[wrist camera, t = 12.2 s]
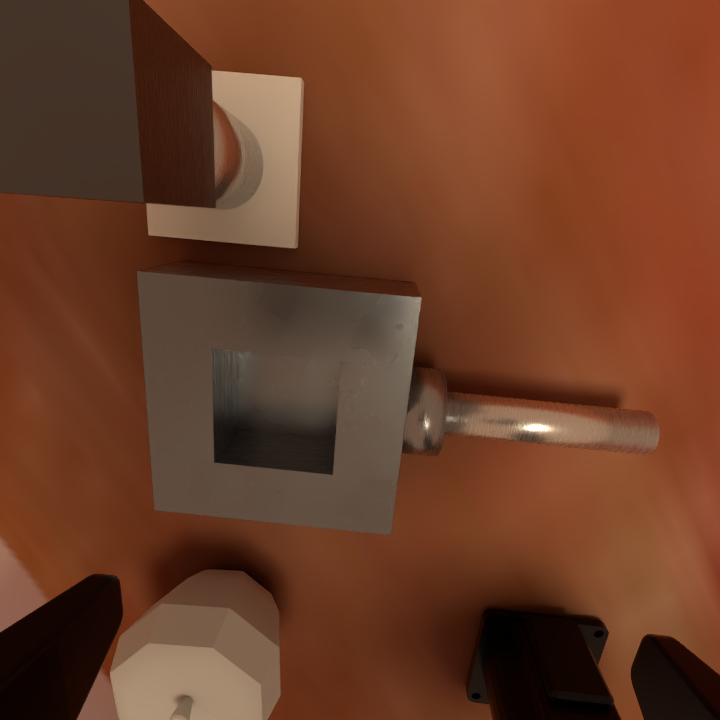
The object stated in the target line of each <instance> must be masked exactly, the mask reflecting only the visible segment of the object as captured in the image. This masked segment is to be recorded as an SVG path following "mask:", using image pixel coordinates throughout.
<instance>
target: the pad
mask: <svg viewBox="0 0 720 720" xmlns="http://www.w3.org/2000/svg"><path fill="white" fill-rule="evenodd" d="M212 95H213V101H215V102H216V103H217V104H219V105H220V106H221V107H223V108H224V109H225V110H227V111H228V112H229V113H231V114H232V115H233V116H235V117H236V118H237V119H239V120H240V121H241V122H242V123H244V124H245V125H246V126H247V127H248V128H249V129H250V130H251V132H252V133H253V134H254V136H255V137H256V139H257V141H258V143H259V145H260V148H261V151H262V156H263V175H262V179H261V182H260V185H259V187H258V189H257V191H256V192H255V194H254V195H253V196H252V197H251V198H250V199H249V200H248V201H247V202H245V203H244V204H242V205H240V206H238V207H235V208H232V209H209V208H197V207H184V206H172V205H159V204H146V206H147V221H148V235H152V236H163V237H174V238H185V239H195V240H206V241H217V242H228V243H239V244H250V245H261V246H272V247H283V248H294V249H295V248H298V230H299V204H300V178H301V152H302V127H303V101H304V81H303V80H302V78H297V77H285V76H273V75H261V74H249V73H237V72H225V71H213V70H212Z"/></svg>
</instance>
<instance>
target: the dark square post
mask: <svg viewBox="0 0 720 720" xmlns="http://www.w3.org/2000/svg"><path fill="white" fill-rule="evenodd" d="M262 175H263V156H262V151H261V148H260V145H259V143H258V141H257V139H256V137H255V136H254V134H253V133H252V132H251V130H250V129H249V128H248V127H247V126H246V125H245V124H244V123H242V122H241V121H240V120H239V119H237V118H236V117H235V116H233V115H232V114H231V113H229V112H228V111H227V110H225V109H224V108H223V107H221V106H220V105H219V104H217V103H216V102H215V101H213V95H212V66H211V65H210V64H209V63H208V62H207V61H206V60H205V59H204V58H203V57H201V56H200V55H199V54H198V53H197V52H196V51H195V50H194V49H193V48H192V47H191V46H190V45H189V44H188V43H187V42H186V41H185V40H184V39H183V38H182V37H181V36H180V35H178V34H177V33H176V32H175V31H174V30H173V29H172V28H171V27H170V26H169V25H168V24H167V23H166V22H165V21H164V20H163V19H162V18H161V17H160V16H159V15H158V14H157V13H156V12H154V11H153V10H152V9H151V8H150V7H149V6H148V5H147V4H146V3H145V2H144V1H143V0H0V193H10V194H23V195H36V196H49V197H62V198H75V199H88V200H102V201H116V202H131V203H145V204H159V205H172V206H184V207H197V208H209V209H232V208H235V207H238V206H240V205H242V204H244V203H245V202H247V201H248V200H249V199H250V198H251V197H252V196H253V195H254V194H255V192H256V191H257V189H258V187H259V185H260V182H261V179H262Z"/></svg>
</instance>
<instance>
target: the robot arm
mask: <svg viewBox="0 0 720 720" xmlns="http://www.w3.org/2000/svg"><path fill="white" fill-rule="evenodd" d="M122 617H123V605H122V596H121V587H120V580H119V579H118V577H117V576H114V575H105V574H93V575H90V576H88V577H87V578H85V579H84V580H82V581H80V582H79V583H77V584H76V585H74V586H73V587H71V588H69V589H68V590H66V591H65V592H63V593H61V594H60V595H58V596H57V597H55V598H54V599H52V600H50V601H49V602H47V603H46V604H44V605H43V606H41V607H39V608H38V609H36V610H35V611H33V612H32V613H30V614H28V615H27V616H25V617H24V618H22V619H21V620H19V621H17V622H16V623H14V624H13V625H11V626H9V627H8V628H6V629H5V630H3V631H2V632H0V720H77V718H78V716H79V714H80V712H81V709H82V708H83V705H84V703H85V701H86V699H87V697H88V694H89V692H90V690H91V688H92V686H93V684H94V682H95V679H96V677H97V675H98V673H99V671H100V669H101V666H102V664H103V662H104V660H105V658H106V656H107V653H108V651H109V649H110V647H111V645H112V643H113V640H114V638H115V636H116V634H117V632H118V630H119V627H120V625H121V622H122ZM491 619H494V620H491ZM608 633H609V632H608V630H607V628H606V626H605V625H604V623H603V622H602V621H599V620H591V619H582V618H573V617H564V616H554V615H545V614H536V613H527V612H518V611H508V610H499V609H489V610H486V611H485V612H484V613H483V615H482V620H481V624H480V628H479V633H478V637H477V642H476V646H475V651H474V655H473V660H472V664H471V668H470V673H469V677H468V682H467V686H466V692H467V698H468V699H469V700H470V701H472V702H476V703H485V704H489V705H490V709H491V714H492V719H493V720H621V718H620V715H619V713H618V711H617V709H616V707H615V705H614V700H613V697H612V695H611V692H610V690H609V688H608V686H607V684H606V682H605V680H604V678H603V676H602V673H601V671H600V669H599V667H598V663H599V660H600V658H601V655H602V652H603V649H604V646H605V643H606V640H607V637H608ZM631 680H632V685H633V688H634V691H635V694H636V697H637V700H638V703H639V706H640V709H641V712H642V715H643V718H644V720H720V675H719V674H718V673H716V672H715V671H714V670H713V669H712V668H710V667H709V666H708V665H707V664H705V663H704V662H703V661H702V660H701V659H699V658H698V657H697V656H696V655H695V654H693V653H692V652H691V651H690V650H688V649H687V648H686V647H685V646H684V645H682V644H681V643H680V642H679V641H677V640H676V639H674V638H672V637H669V636H663V635H654V634H647V635H646V636H644V637H643V639H642V641H641V643H640V646H639V649H638V651H637V654H636V656H635V659H634V662H633V664H632V667H631Z"/></svg>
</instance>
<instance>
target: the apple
mask: <svg viewBox="0 0 720 720" xmlns="http://www.w3.org/2000/svg"><path fill="white" fill-rule="evenodd" d="M110 677H111V682H112V687H113V692H114V697H115V702H116V707H117V712H118V717H119V719H120V720H268V718H269V716H270V714H271V712H272V710H273V708H274V707H275V705H276V703H277V701H278V699H279V697H280V695H281V694H280V642H279V610H278V608H277V606H276V603H275V601H274V599H273V596H272V594H271V593H270V592H268V591H267V590H266V589H265V588H263V587H262V586H261V585H260V584H258V583H257V582H256V581H255V580H253V579H252V578H251V577H250V576H248V575H247V574H246V573H245V572H243V571H235V570H217V569H207V570H203V571H201V572H199V573H197V574H195V575H193V576H191V577H189V578H187V579H186V580H185V581H183V582H182V583H181V584H179V585H178V586H177V587H176V588H174V589H173V590H172V591H170V592H169V593H168V594H167V595H165V596H164V597H163V598H161V599H160V600H159V601H157V602H156V603H155V604H154V605H152V606H151V607H150V608H149V609H148V610H147V611H146V612H145V613H144V614H143V615H142V616H141V617H140V618H139V619H138V620H137V621H136V622H135V623H134V624H133V625H131V626H130V627H129V628H128V629H127V630H126V631H125V632H124V633H123V634H122V635H121V636H120V638H119V642H118V645H117V649H116V652H115V656H114V660H113V663H112V667H111V670H110Z"/></svg>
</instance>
